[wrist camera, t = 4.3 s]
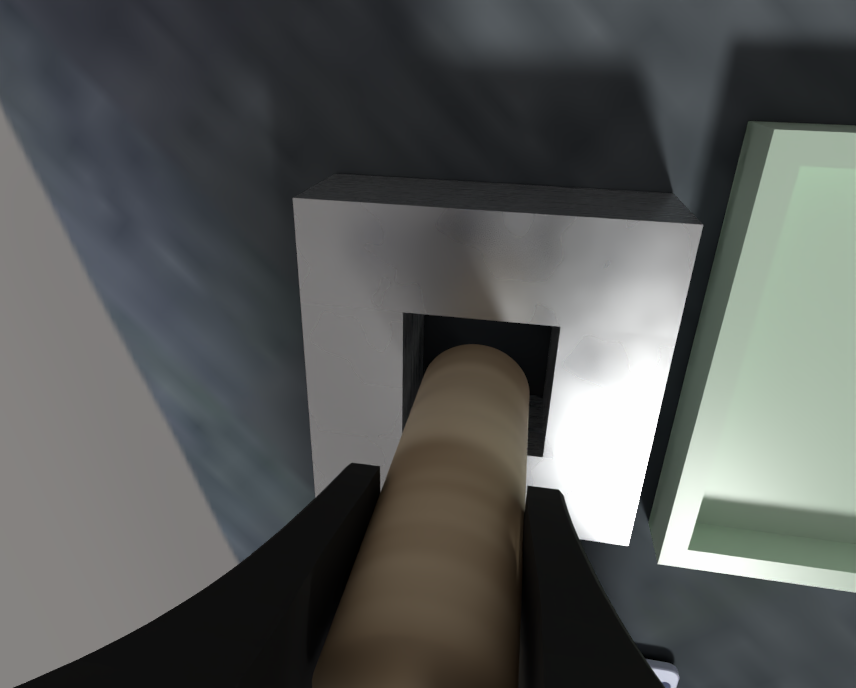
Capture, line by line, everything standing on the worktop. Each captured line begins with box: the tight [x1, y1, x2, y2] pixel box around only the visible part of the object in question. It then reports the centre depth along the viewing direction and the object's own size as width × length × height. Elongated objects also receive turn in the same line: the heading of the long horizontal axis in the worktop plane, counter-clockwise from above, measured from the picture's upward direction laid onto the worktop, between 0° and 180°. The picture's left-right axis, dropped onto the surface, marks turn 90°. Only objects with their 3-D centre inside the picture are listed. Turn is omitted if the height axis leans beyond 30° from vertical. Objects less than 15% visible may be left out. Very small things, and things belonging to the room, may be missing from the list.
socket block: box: [293, 174, 703, 546], centre depth 18 cm, size 10×10×4 cm
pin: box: [312, 344, 530, 688], centre depth 13 cm, size 3×3×9 cm
